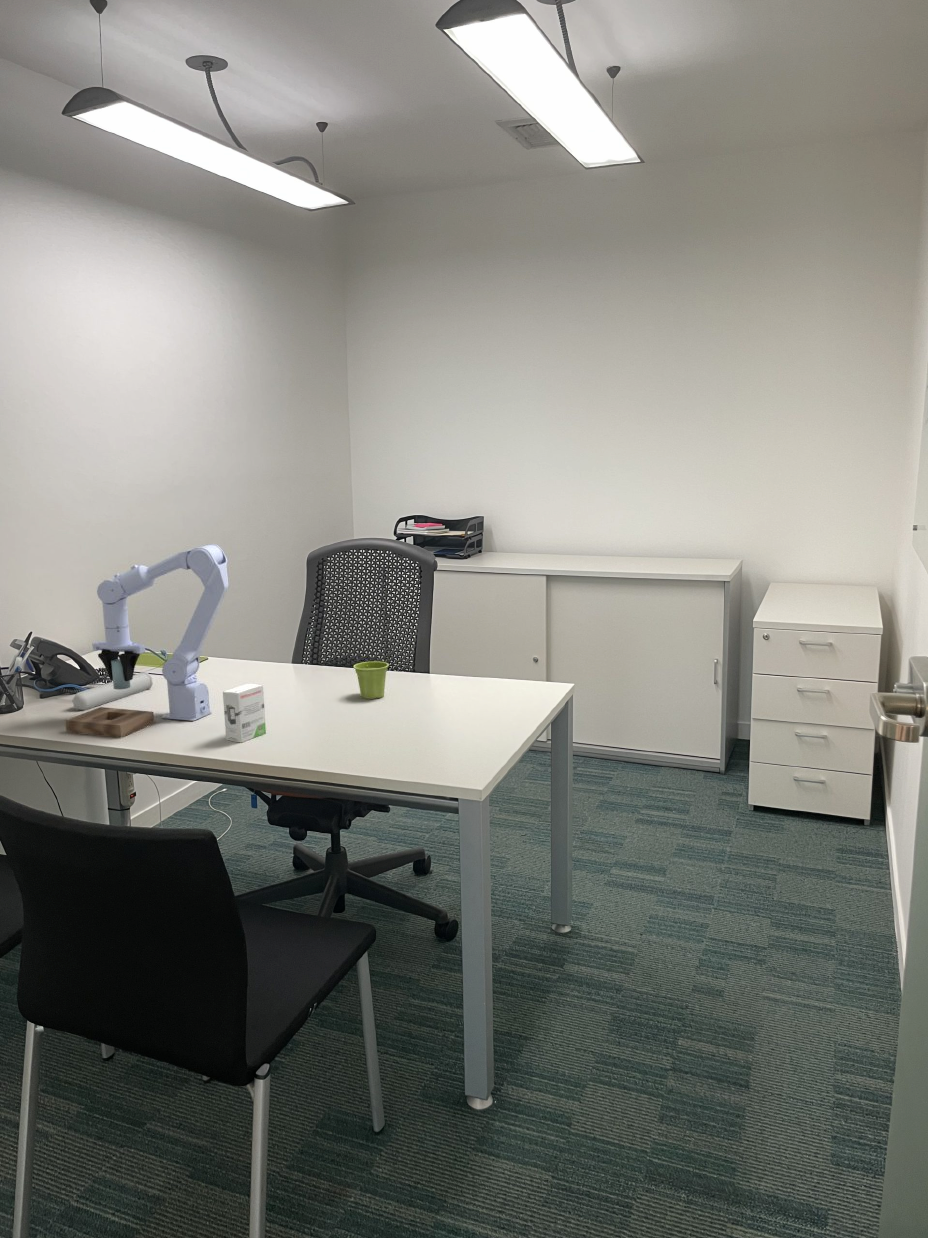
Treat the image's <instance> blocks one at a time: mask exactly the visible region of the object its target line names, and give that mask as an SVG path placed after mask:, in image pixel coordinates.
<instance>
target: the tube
mask: <svg viewBox="0 0 928 1238" xmlns="http://www.w3.org/2000/svg"><path fill="white" fill-rule="evenodd" d="M152 687H153V676H151V674H149V672H147V671H139V672H138V673H136V674H133V679H132V680H130V688H127V689H114V686H113V681H110V682H108V683H104V684H101V685H98V686H95V687H91V688H88V689H85V690H81V691H79V692H76V693H75V696H74V697H73V698H72V699H71V701H72V704H73V707H74V709H75V710H77V711H87V710H91V709H93V708H97V707H100V706H103V705H105V704H109V703H112V702H114V701H115V702H116V701H117V700H121V699H123V698H126V697H130V696H132V695H135V694H139V693H141V692H145V691H148V690H151V688H152Z"/></svg>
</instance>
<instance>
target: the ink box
mask: <svg viewBox="0 0 928 1238" xmlns="http://www.w3.org/2000/svg"><path fill="white" fill-rule="evenodd" d="M264 692H265V691H264V685H261V684H254V683H246V684H243V685H242V684H241V685H239V686H236V687H234V688H231V689H227V690H224V691H222V699H223V701H222V703H223V714H224V715H223V716H224V726H225V728H224V731H225V740H226V741H229V740H230V741H231V742H236V743H239V742H240V744H242V743H245V742H247V741H249V739H250V740H252V739H254V738H257V737H259V736H261V735H264V734H265V735H266V732H267V731H266V730H267V728H266V714H265V712H266V711H265V710H266V709H265V693H264ZM241 742H242V743H241Z"/></svg>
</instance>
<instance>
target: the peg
mask: <svg viewBox="0 0 928 1238" xmlns="http://www.w3.org/2000/svg"><path fill="white" fill-rule="evenodd" d="M111 664H112V675H113V680H112V682H113V686H114V689H127V688H130V681H125V679H124V674H123V667H122V664H121V661H120V659H119V658H118V659H115V660H112V661H111Z"/></svg>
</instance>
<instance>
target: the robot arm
mask: <svg viewBox="0 0 928 1238" xmlns="http://www.w3.org/2000/svg"><path fill="white" fill-rule="evenodd" d="M227 565H228V558H227V556H226V554H225V553H224V550H223V549H222V548H221V546H219V545H217V544H215V543H209V544H206V545H204V546H198V547H195V548H191V549H187V550H184V551H183V550H182V551H181V552H178V553H176V554H175V553H174V555H171V556H169V557H168V558H165V559H162V560H161V561H159V562H157V563H155V564H153V565H151V566H149V567H148V566H146V565H138V564H134V565H132V566H130V569H129V570H127V571H125V572H123V573H116V574H115V575H113V576H114V577H113V578H110V579H105V580H103V581H102V582H101V583H100V584H99V585H98V586H97V590H96V595H97V597H98V599H99V600H100V601H101V603H102V604H101V605H102V613H103V614H102V615H103V626H104V636H105V641H96V642H92V651H95V652H97V651H101V652H100V653H97V656H98V658H99V659H100V661H101V662H102V663H103V665H104V667H105V670H106V672H107V674H108V678H109V679H110V681H113V675H112V664H111V661H112V660H115V659H120V661H121V664H122V667H123V674H124V679H125V681H130V680H132V679H133V675H134V673H135V668H136V664H137V662H138V659H139V657H140V655H141V654H143V653H146V648H145V646H146V645H145V644H140V643H136V642H133V641H132V640H131V635H130V623H129V612H128V603H127V602H128V601H127V599H128V597H131V596H133V595H135V594H137V593H139V592H142V591H144V590H146V589H148V588H150V587H153V585H154V583H155V580H156V579H158V578H160V577H163V576H165V575H167V574H169V573H171V572H173V571H176V570H179V569H183V570H186V571H187V570H191V571H192V572H193V573H194V574H195V575H196V576H197V578H199V579H200V582H201V583H202V585H203V587H204V589H203V592H202V593H201V596H200V599H199V600H198V603H197V605H196V608H195V610H194V612H193V614H192V617H191V619H190V621H189V623H188V625H187V627H186V629H185V632H184V635H183V636H182V638H181V641H180V643H179V645H178V646H177V647H176V649H175V650H174V651H173V653H172V655H171V656H170V658H169V659H168V660H166V661H165V662H164V664H163V665H162V670H161V672H162V676H163V679H165V680H166V685H167V696H168V697H167V698H168V709H169V713H167V714H164V715H162V716H161V718H162V719H168V720H169V719H170V720H181V721H192V722H193V721H196V720H197V721H198V719H201V718H203V717H206V716H207V715H209V714H212V713H213V712H212V710H210V709H211V708H210V695H209V688H208V686H207V684H205V683H204V682H200V681H199V680H198V677H197V673H198V671H199V668H200V657H201V655H202V650H201V649H202V646H203V644H204V642H205V640H206V637H207V635H208V634H209V631H210V629H211V626H212V625H213V622H214V619H215V618H216V616H217V613H218V612H219V609H220V607H221V605H222V602H223V600H224V598H225V596H226V594H227V592H228V589H229V579H228V570H227V568H228V566H227Z"/></svg>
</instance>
